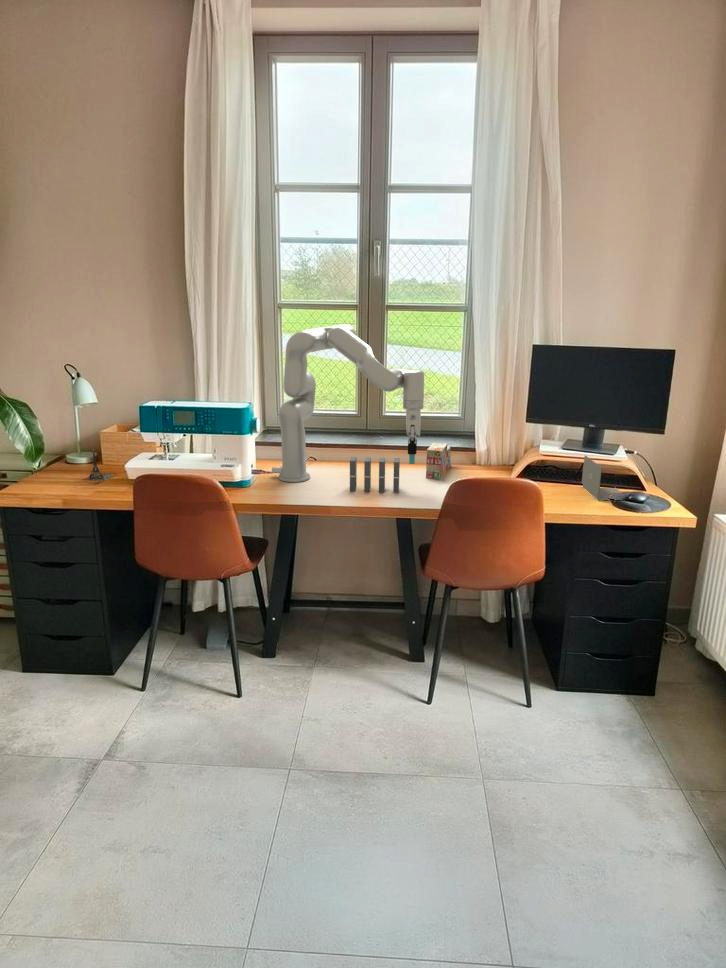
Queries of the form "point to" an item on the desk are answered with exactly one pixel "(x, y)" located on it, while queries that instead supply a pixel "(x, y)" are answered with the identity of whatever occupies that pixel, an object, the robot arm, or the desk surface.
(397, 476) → the domino
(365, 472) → the domino
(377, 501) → the desk surface
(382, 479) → the domino
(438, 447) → the stack of blocks
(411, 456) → the teal domino
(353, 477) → the domino
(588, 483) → the laptop
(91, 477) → the eiffel tower figurine
